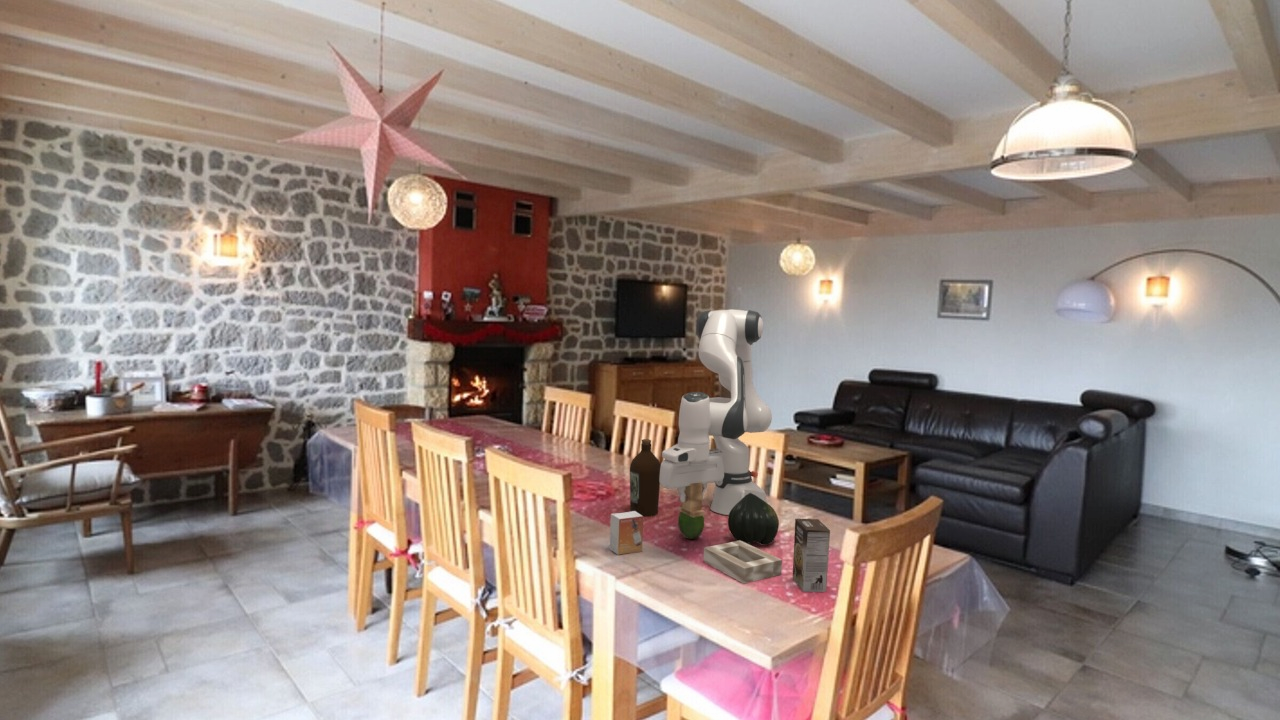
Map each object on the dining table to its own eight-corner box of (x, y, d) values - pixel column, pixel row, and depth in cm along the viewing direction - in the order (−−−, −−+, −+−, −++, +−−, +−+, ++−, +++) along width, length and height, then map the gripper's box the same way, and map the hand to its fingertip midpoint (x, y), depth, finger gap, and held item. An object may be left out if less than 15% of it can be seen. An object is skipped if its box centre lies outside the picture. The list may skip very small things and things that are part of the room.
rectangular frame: (739, 553, 198) (740, 540, 198) (781, 574, 184) (782, 559, 183) (703, 561, 191) (703, 547, 191) (743, 583, 177) (744, 568, 176)
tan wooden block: (689, 508, 197) (690, 477, 196) (704, 515, 191) (705, 483, 190) (678, 510, 195) (679, 479, 194) (693, 517, 189) (694, 485, 188)
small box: (617, 555, 194) (618, 519, 193) (609, 549, 199) (610, 513, 198) (642, 551, 197) (643, 515, 196) (633, 545, 202) (635, 510, 201)
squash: (772, 537, 197) (778, 490, 205) (720, 531, 202) (728, 486, 211) (777, 557, 207) (783, 511, 216) (728, 551, 212) (736, 507, 221)
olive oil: (652, 506, 241) (654, 436, 239) (664, 515, 231) (667, 442, 229) (623, 509, 237) (625, 437, 235) (635, 518, 227) (637, 443, 225)
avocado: (705, 535, 213) (707, 497, 212) (701, 543, 205) (702, 504, 204) (680, 532, 215) (681, 494, 214) (674, 540, 208) (676, 501, 207)
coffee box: (791, 577, 182) (794, 518, 180) (815, 577, 182) (818, 518, 181) (802, 592, 172) (805, 529, 171) (827, 592, 173) (830, 529, 172)
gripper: (715, 445, 200) (714, 492, 201) (657, 452, 189) (655, 502, 190) (729, 450, 194) (727, 498, 196) (670, 457, 184) (668, 508, 185)
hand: (691, 500), depth 193 cm, fingers closed on tan wooden block, 4 cm apart
